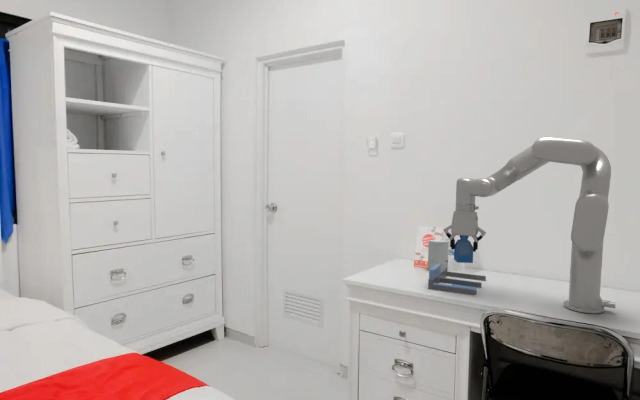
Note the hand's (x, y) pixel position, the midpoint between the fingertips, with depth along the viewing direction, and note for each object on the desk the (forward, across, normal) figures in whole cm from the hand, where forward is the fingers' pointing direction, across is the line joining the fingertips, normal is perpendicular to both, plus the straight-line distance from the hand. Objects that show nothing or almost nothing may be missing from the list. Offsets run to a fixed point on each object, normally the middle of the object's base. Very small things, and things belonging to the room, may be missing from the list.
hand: (463, 250), depth 178 cm
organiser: (+17, +3, -6) cm, 18 cm away
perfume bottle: (+5, 0, 0) cm, 5 cm away
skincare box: (+17, +17, -28) cm, 37 cm away
